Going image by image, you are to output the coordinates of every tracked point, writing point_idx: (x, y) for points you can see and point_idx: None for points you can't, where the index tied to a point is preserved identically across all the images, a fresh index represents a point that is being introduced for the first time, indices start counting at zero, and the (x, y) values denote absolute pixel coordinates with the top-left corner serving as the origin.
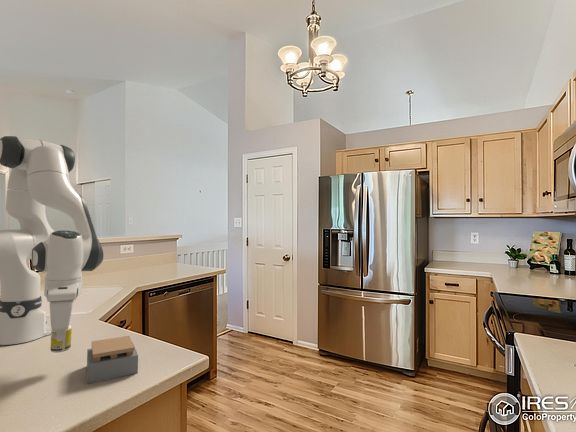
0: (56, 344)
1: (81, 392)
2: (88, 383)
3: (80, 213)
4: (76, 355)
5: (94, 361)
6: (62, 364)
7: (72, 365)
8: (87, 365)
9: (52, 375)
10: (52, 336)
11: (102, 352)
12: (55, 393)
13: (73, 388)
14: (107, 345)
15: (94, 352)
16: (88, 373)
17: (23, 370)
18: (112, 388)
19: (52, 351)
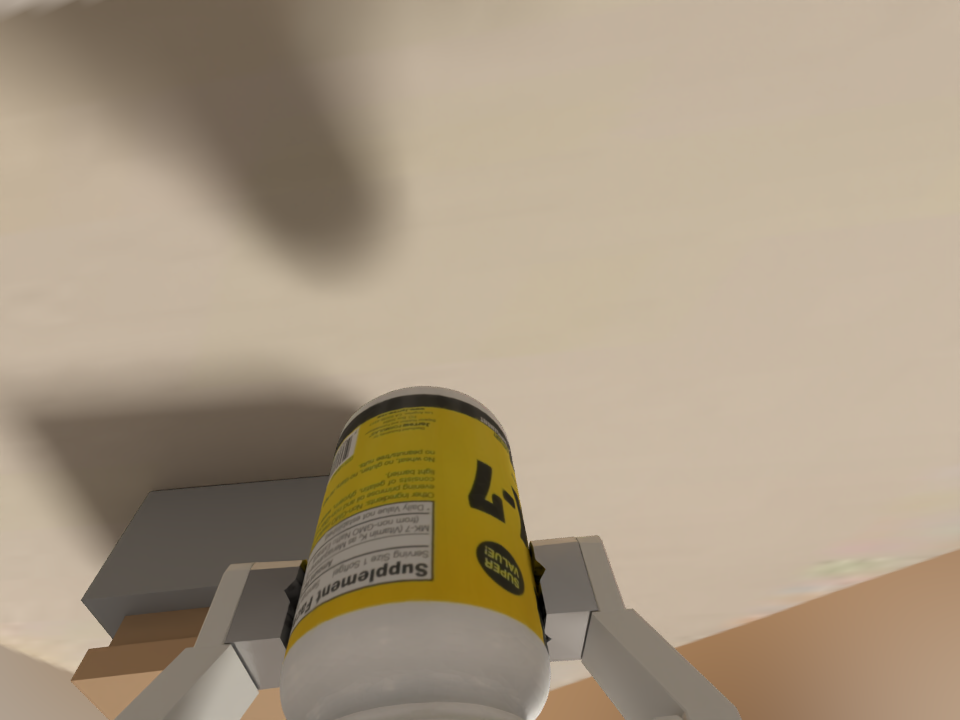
0: (324, 496)
1: (32, 476)
2: (152, 494)
3: None
4: (657, 402)
5: (126, 622)
6: (538, 344)
7: (483, 399)
8: (298, 516)
9: (355, 310)
10: (340, 545)
11: (108, 711)
12: (32, 363)
13: (97, 439)
14: (266, 711)
15: (117, 682)
16: (119, 543)
17: (577, 78)
18: (67, 577)
19: (361, 409)
